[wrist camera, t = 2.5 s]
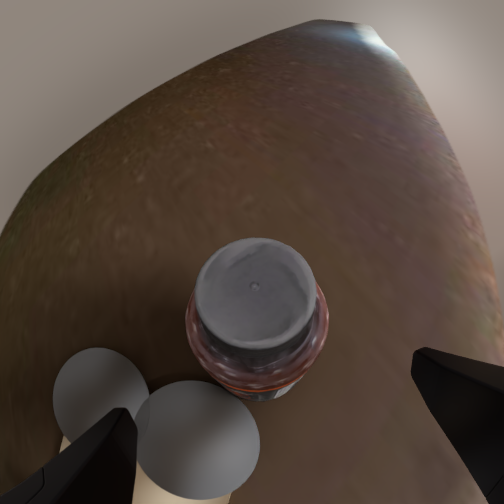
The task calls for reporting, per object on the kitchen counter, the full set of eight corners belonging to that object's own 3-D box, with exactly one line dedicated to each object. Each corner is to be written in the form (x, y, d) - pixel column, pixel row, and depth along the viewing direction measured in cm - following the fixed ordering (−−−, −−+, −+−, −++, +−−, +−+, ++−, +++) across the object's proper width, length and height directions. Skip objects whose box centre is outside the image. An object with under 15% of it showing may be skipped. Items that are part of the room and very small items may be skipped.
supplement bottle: (196, 366, 19) (127, 299, 9) (251, 301, 21) (238, 188, 12) (268, 420, 17) (273, 419, 7) (321, 348, 19) (375, 266, 10)
